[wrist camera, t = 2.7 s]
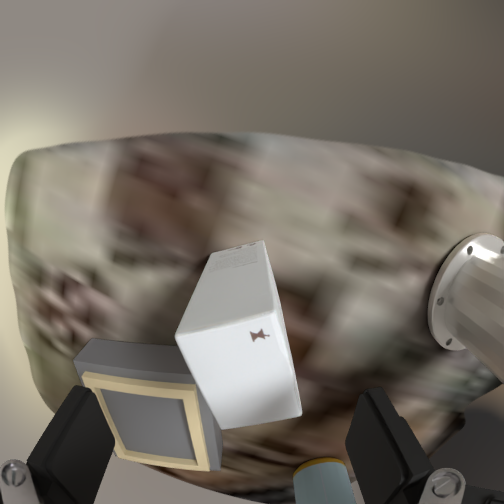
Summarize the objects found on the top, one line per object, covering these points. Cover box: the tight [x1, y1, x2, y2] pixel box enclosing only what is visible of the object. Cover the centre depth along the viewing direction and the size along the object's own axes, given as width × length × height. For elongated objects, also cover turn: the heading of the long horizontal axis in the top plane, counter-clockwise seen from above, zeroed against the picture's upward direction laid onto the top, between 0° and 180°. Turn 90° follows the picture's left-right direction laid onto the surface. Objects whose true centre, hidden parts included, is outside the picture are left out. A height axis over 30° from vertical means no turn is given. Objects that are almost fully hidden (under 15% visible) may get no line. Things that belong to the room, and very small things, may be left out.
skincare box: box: [175, 240, 302, 430], centre depth 17 cm, size 6×4×12 cm
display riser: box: [73, 338, 223, 471], centre depth 24 cm, size 12×14×5 cm
